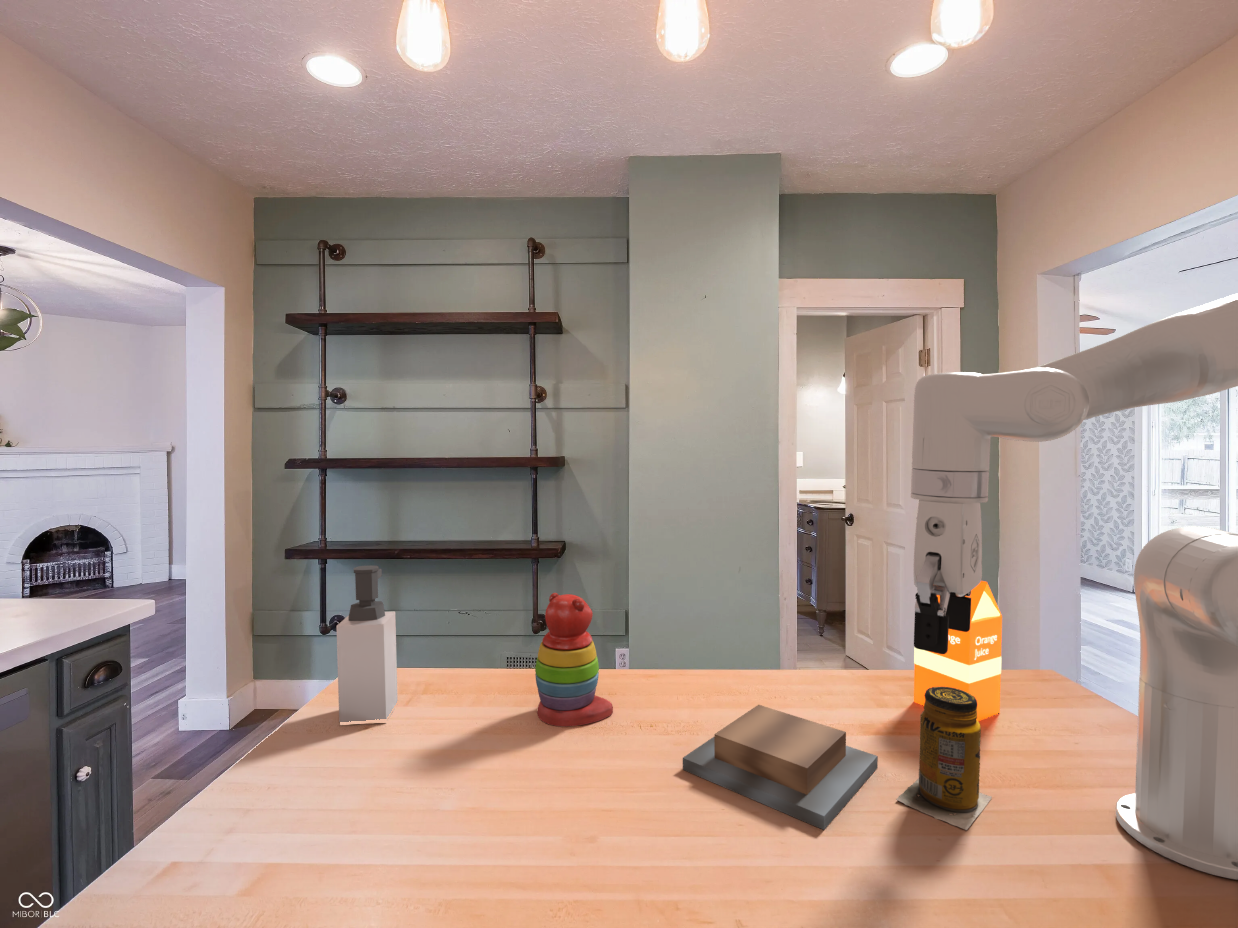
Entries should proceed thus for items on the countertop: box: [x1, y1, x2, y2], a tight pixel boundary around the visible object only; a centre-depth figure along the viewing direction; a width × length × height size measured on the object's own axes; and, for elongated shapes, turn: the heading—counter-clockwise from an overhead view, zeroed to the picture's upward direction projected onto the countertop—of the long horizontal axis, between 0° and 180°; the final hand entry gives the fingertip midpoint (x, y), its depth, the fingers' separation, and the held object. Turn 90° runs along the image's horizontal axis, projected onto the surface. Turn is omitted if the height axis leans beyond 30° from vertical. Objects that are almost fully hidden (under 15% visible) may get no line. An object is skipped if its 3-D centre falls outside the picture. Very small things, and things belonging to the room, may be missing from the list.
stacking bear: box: [534, 592, 614, 728], centre depth 92 cm, size 11×10×18 cm
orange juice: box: [913, 580, 1003, 722], centre depth 93 cm, size 8×9×20 cm
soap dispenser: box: [336, 565, 399, 723], centre depth 93 cm, size 6×9×22 cm
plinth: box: [682, 704, 879, 831], centre depth 77 cm, size 18×16×4 cm
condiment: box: [895, 686, 993, 831], centre depth 70 cm, size 7×8×12 cm
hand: (942, 639), depth 69 cm, fingers open, 9 cm apart
